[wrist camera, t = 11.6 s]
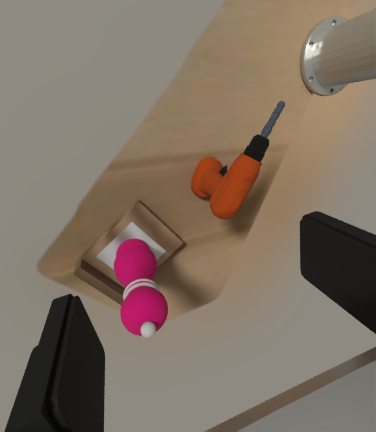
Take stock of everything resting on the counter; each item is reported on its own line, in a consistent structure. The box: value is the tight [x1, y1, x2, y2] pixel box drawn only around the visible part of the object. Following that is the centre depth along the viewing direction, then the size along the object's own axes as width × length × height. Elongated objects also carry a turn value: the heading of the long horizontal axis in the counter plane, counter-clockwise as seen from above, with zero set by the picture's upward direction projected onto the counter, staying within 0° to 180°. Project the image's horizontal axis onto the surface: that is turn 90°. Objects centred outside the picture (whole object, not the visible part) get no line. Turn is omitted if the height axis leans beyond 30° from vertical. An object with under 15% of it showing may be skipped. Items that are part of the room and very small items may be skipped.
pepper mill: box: [114, 239, 168, 338], centre depth 37 cm, size 7×7×20 cm
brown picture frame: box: [74, 200, 183, 305], centre depth 46 cm, size 16×12×5 cm
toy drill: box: [191, 101, 285, 219], centre depth 39 cm, size 5×19×15 cm, turn 156°
